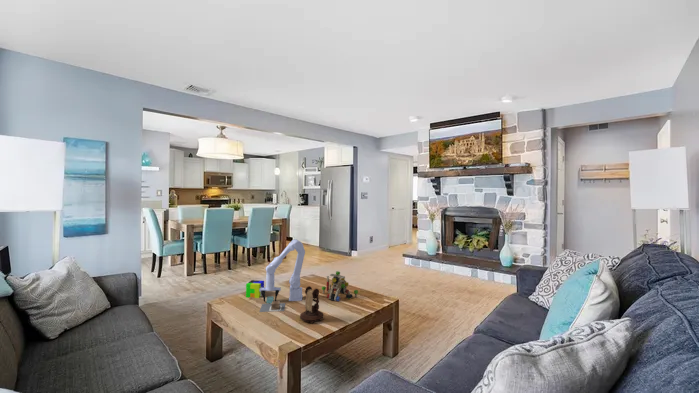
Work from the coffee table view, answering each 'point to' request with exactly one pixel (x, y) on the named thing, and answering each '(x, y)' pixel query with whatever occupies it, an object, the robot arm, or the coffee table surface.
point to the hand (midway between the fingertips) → (270, 300)
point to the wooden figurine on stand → (311, 306)
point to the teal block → (270, 299)
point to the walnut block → (275, 305)
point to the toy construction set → (337, 287)
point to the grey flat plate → (268, 308)
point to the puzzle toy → (254, 288)
